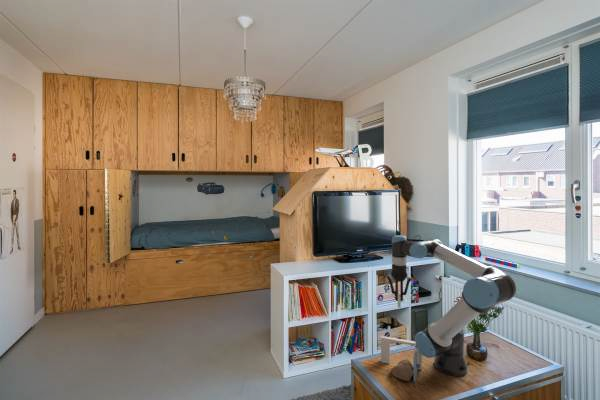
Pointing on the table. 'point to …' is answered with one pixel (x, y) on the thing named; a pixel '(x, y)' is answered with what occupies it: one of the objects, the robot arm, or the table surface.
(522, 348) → the table surface
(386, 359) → the wall frame
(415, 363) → the door
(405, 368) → the stone
